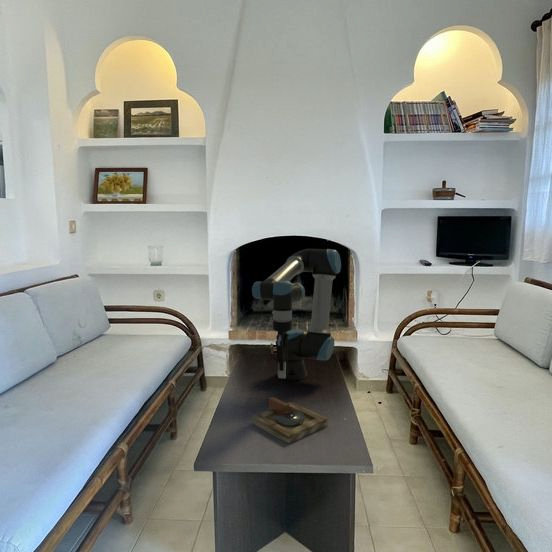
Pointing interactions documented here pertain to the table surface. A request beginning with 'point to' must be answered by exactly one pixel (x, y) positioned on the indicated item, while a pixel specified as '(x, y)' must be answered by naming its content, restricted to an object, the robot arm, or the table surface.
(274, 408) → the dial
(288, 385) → the table surface
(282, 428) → the panel
